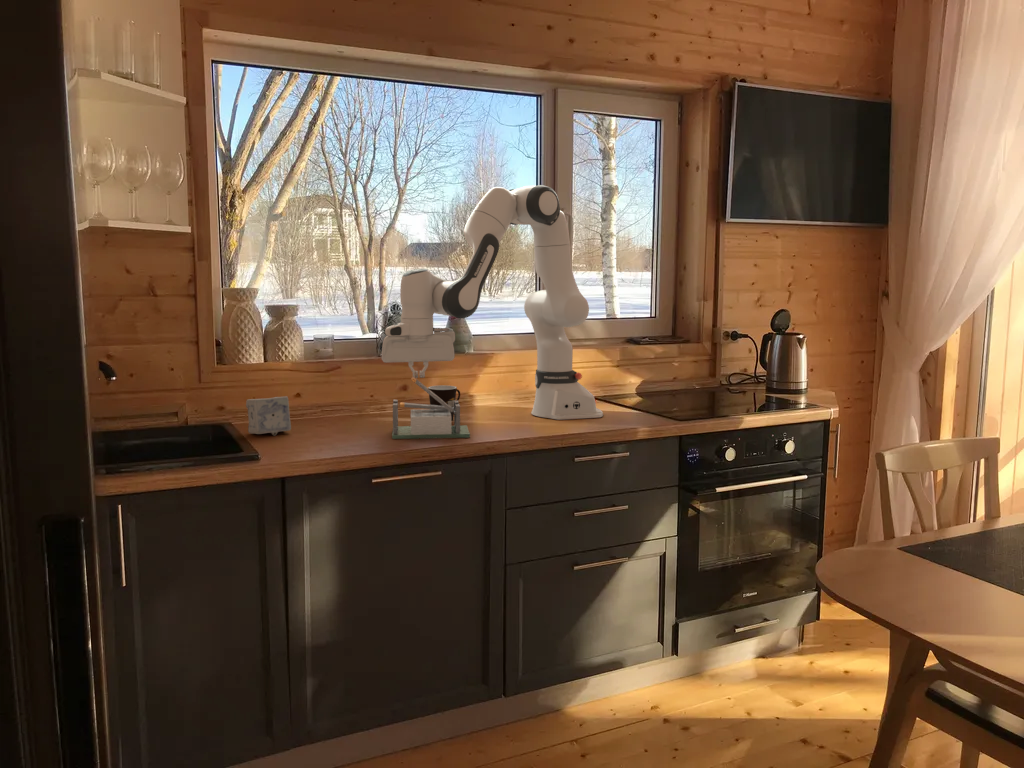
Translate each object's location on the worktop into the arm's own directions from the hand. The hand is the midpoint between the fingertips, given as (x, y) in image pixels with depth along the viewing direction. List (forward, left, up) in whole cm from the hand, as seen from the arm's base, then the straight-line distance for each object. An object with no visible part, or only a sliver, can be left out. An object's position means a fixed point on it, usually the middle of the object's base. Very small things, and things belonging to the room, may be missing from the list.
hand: (418, 377), depth 227 cm
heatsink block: (-3, +3, -15) cm, 16 cm away
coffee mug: (-9, -17, -16) cm, 25 cm away
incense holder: (+41, -1, -16) cm, 44 cm away
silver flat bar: (-2, 0, -9) cm, 9 cm away
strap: (-3, +6, -4) cm, 8 cm away
